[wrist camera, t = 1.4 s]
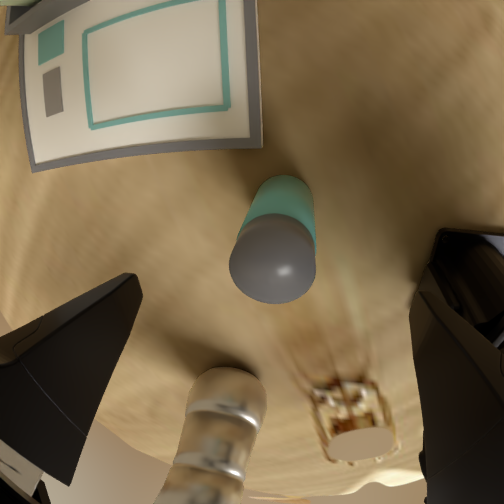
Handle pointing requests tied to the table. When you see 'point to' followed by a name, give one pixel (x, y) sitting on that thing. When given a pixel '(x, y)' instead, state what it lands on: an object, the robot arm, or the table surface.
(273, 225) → the teal cylinder
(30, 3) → the key
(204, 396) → the plastic bottle
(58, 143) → the activity board
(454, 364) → the robot arm
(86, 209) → the table surface
